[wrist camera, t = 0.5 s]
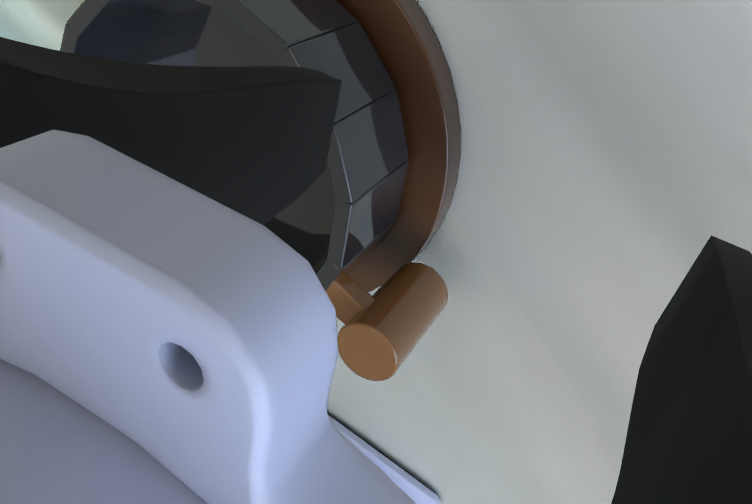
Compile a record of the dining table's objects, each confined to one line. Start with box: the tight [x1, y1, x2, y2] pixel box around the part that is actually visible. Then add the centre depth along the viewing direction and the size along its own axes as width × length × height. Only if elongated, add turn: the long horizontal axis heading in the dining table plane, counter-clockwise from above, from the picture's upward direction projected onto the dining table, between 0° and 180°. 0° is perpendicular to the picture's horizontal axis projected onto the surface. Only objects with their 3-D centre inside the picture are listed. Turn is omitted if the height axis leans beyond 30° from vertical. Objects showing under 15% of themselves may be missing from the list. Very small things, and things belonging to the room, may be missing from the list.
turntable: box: [335, 0, 461, 292], centre depth 26 cm, size 15×15×1 cm
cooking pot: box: [60, 0, 448, 381], centre depth 23 cm, size 16×12×5 cm
